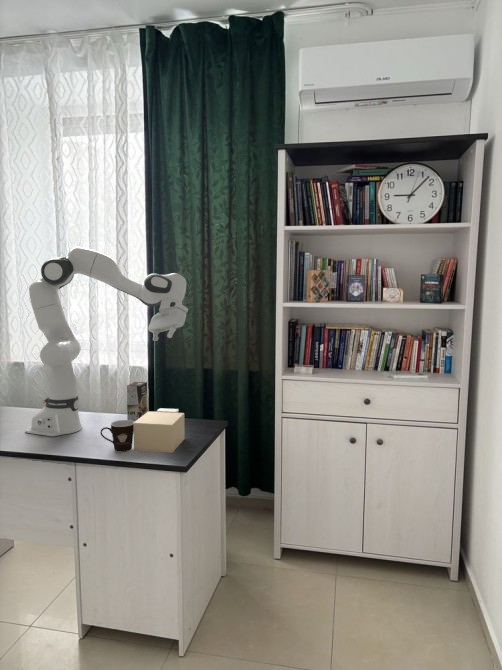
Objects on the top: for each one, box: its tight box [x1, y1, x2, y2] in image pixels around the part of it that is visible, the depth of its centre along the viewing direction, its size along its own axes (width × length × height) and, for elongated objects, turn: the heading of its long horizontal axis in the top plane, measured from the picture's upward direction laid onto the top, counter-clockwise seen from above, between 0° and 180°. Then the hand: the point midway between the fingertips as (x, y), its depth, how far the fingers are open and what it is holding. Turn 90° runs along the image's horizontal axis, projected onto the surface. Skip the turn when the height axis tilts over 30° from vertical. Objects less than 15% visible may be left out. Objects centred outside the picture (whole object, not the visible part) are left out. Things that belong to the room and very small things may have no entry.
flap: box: [133, 407, 185, 426], centre depth 198 cm, size 15×20×1 cm
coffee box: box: [126, 381, 148, 422], centre depth 232 cm, size 9×6×16 cm
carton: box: [133, 414, 186, 453], centre depth 196 cm, size 15×16×10 cm
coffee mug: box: [100, 419, 135, 453], centre depth 192 cm, size 12×9×10 cm
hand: (162, 339), depth 209 cm, fingers open, 8 cm apart
